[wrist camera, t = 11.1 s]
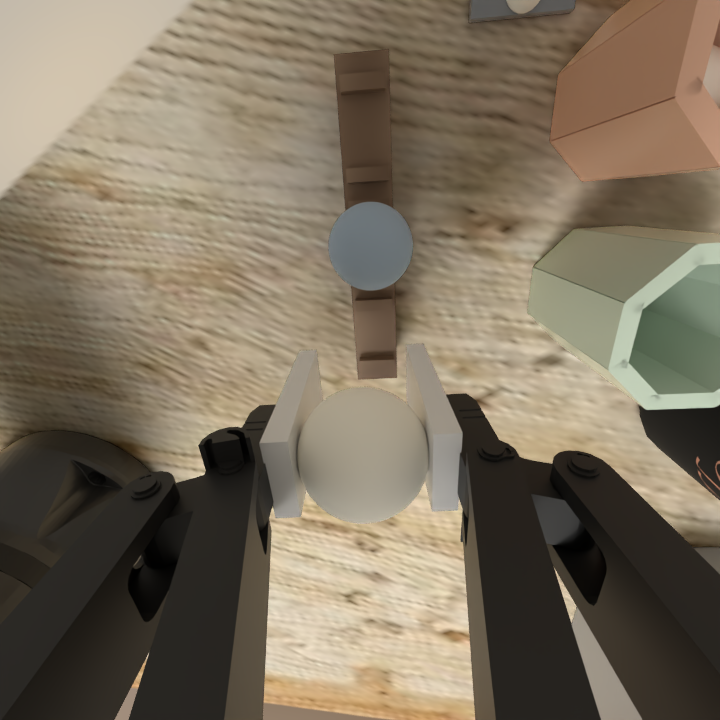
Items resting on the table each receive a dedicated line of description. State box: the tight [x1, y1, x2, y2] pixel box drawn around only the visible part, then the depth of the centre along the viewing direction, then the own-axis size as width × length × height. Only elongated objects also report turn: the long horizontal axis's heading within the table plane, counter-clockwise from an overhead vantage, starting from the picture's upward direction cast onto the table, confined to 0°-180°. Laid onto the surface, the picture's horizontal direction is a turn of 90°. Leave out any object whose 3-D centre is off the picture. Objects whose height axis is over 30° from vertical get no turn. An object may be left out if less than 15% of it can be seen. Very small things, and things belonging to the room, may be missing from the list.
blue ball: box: [328, 202, 413, 290], centre depth 17 cm, size 4×4×4 cm
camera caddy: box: [572, 547, 720, 720], centre depth 32 cm, size 16×21×10 cm
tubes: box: [469, 0, 720, 410], centre depth 16 cm, size 12×22×9 cm, turn 4°
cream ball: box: [297, 387, 429, 524], centre depth 11 cm, size 4×4×4 cm
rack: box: [334, 49, 397, 379], centre depth 20 cm, size 2×16×5 cm, turn 4°
